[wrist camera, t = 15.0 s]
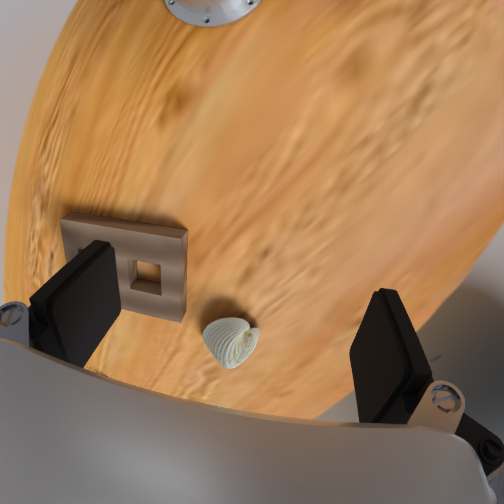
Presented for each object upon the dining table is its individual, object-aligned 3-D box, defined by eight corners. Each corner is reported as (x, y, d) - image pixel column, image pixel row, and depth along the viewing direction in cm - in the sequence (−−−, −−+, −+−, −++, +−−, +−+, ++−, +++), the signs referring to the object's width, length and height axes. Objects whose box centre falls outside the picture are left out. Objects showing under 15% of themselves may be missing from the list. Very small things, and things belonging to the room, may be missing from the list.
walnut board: (71, 212, 42) (60, 219, 39) (188, 229, 41) (181, 239, 38) (82, 286, 48) (73, 295, 46) (186, 310, 47) (180, 322, 45)
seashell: (276, 342, 45) (243, 380, 45) (247, 315, 52) (218, 349, 51) (245, 322, 40) (208, 365, 40) (217, 293, 47) (185, 332, 46)
